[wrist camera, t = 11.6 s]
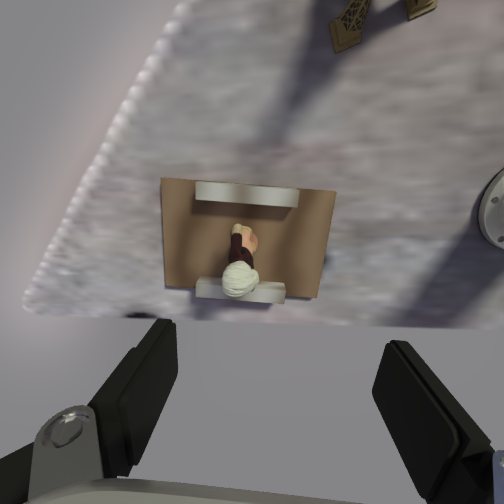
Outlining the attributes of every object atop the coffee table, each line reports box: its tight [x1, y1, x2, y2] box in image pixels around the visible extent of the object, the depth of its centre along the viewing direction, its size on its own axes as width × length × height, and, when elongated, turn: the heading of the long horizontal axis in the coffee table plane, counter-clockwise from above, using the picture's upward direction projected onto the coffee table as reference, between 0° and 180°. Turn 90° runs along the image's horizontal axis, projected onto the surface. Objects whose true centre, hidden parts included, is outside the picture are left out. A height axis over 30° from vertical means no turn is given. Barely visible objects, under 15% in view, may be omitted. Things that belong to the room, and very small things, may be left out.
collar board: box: [161, 178, 336, 304], centre depth 31 cm, size 22×15×4 cm
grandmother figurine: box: [222, 224, 259, 297], centre depth 25 cm, size 8×4×13 cm, turn 23°
